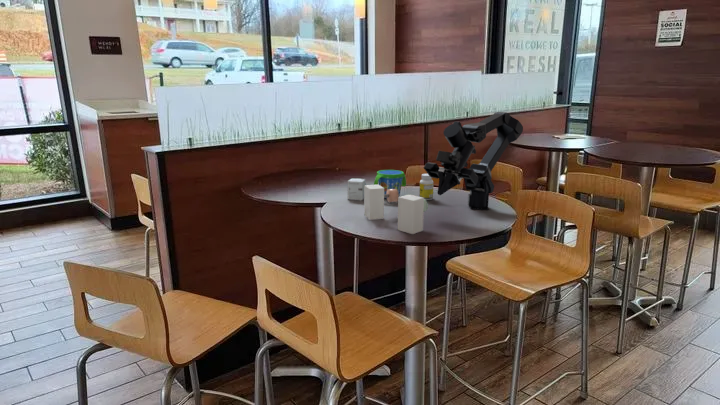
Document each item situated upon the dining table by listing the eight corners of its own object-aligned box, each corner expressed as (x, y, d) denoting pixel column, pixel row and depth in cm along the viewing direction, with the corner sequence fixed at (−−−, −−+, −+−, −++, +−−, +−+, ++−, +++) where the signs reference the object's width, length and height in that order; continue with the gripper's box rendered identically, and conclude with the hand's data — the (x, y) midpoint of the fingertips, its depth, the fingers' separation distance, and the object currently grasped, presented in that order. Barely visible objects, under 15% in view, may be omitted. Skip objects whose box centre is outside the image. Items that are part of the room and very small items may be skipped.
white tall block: (378, 213, 170) (378, 184, 167) (383, 218, 164) (384, 188, 161) (364, 215, 168) (364, 185, 165) (369, 219, 163) (369, 189, 160)
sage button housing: (408, 226, 156) (408, 194, 153) (422, 230, 151) (423, 197, 149) (397, 229, 152) (398, 197, 150) (412, 234, 148) (413, 200, 145)
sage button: (416, 210, 156) (417, 197, 155) (427, 213, 153) (428, 199, 152) (403, 214, 152) (403, 200, 150) (414, 217, 148) (414, 203, 147)
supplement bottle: (418, 197, 192) (419, 173, 190) (432, 197, 192) (433, 173, 190) (419, 200, 187) (420, 176, 185) (433, 200, 187) (434, 176, 185)
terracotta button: (393, 199, 169) (394, 187, 168) (398, 203, 165) (398, 190, 164) (376, 201, 167) (376, 188, 166) (380, 204, 163) (380, 191, 162)
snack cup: (397, 192, 201) (397, 167, 198) (413, 197, 192) (414, 171, 190) (366, 197, 193) (366, 171, 190) (381, 202, 184) (382, 176, 182)
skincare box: (347, 199, 189) (347, 181, 187) (351, 195, 195) (351, 177, 193) (362, 200, 188) (362, 181, 186) (366, 196, 193) (366, 178, 192)
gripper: (427, 138, 164) (405, 176, 160) (475, 144, 151) (452, 185, 147) (441, 158, 172) (420, 194, 167) (487, 165, 159) (466, 204, 154)
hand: (438, 194), depth 159 cm, fingers closed
